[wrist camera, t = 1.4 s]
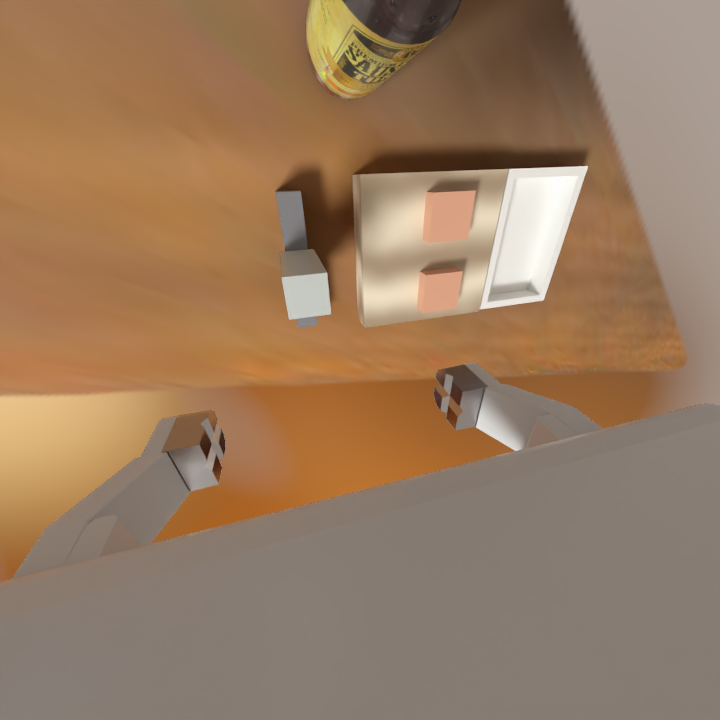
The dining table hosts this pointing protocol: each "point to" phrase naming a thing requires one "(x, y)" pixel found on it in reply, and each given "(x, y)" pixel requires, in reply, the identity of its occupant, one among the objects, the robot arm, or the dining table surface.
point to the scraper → (300, 265)
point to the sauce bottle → (369, 39)
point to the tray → (530, 233)
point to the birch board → (418, 241)
